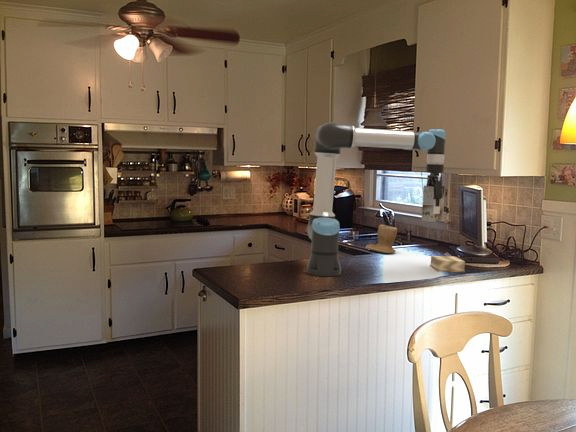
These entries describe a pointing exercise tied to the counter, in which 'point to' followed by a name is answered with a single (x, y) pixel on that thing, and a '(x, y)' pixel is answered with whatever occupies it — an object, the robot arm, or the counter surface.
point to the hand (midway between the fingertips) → (432, 212)
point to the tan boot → (384, 239)
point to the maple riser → (447, 264)
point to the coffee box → (431, 205)
